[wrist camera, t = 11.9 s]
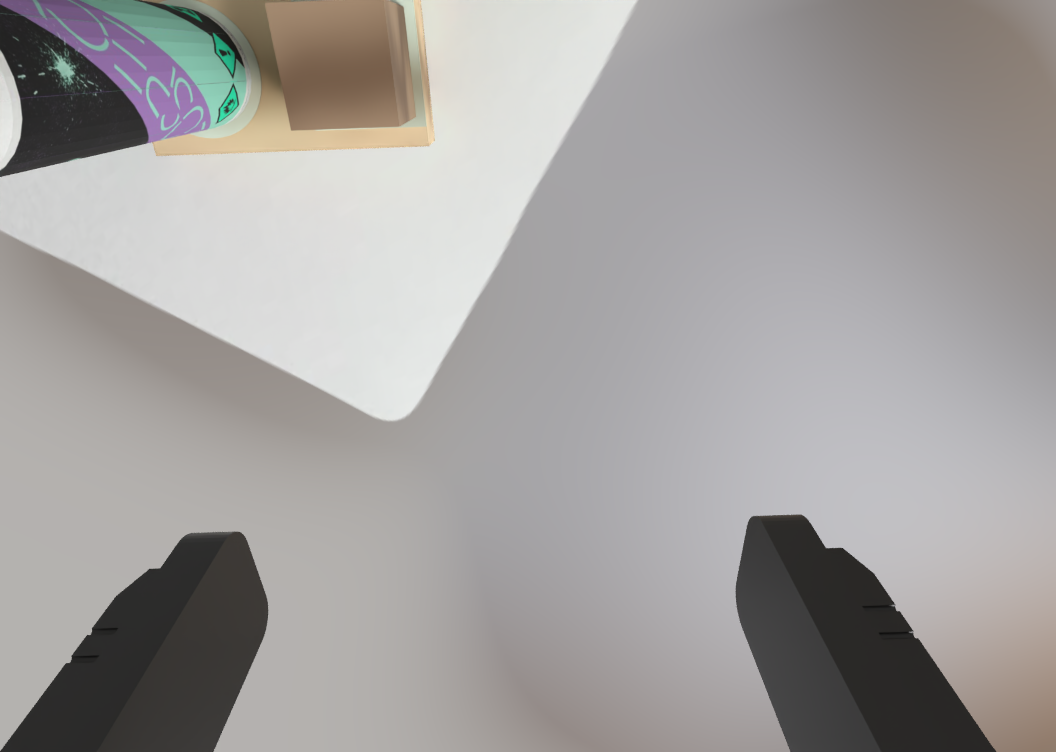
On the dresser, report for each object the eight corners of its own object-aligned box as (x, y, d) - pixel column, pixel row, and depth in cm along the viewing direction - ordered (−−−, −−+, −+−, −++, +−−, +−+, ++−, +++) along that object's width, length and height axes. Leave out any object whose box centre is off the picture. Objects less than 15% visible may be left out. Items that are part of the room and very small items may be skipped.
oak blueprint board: (131, -13, 31) (100, -19, 29) (418, -24, 31) (410, -30, 29) (179, 149, 35) (155, 156, 32) (434, 140, 35) (428, 146, 32)
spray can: (215, 150, 32) (-142, 258, 15) (120, 70, 30) (-423, 83, 13) (273, 70, 30) (-54, 83, 13) (176, -20, 29) (-365, -150, 11)
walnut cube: (302, 10, 29) (264, 2, 25) (403, 6, 29) (383, -2, 25) (322, 120, 32) (290, 130, 27) (416, 116, 32) (399, 126, 27)
